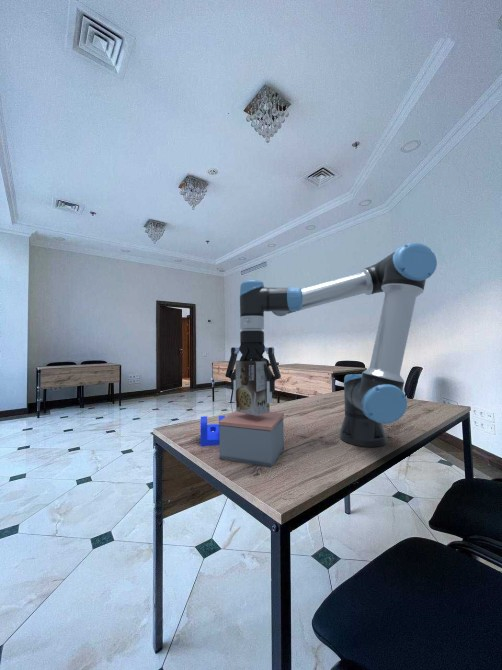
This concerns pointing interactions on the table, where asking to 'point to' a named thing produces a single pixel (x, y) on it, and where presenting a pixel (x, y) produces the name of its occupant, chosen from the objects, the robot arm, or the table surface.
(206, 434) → the bracket
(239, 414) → the lid
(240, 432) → the box
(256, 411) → the coffee box
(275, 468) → the table surface
